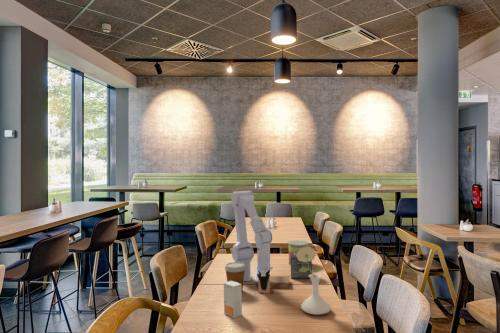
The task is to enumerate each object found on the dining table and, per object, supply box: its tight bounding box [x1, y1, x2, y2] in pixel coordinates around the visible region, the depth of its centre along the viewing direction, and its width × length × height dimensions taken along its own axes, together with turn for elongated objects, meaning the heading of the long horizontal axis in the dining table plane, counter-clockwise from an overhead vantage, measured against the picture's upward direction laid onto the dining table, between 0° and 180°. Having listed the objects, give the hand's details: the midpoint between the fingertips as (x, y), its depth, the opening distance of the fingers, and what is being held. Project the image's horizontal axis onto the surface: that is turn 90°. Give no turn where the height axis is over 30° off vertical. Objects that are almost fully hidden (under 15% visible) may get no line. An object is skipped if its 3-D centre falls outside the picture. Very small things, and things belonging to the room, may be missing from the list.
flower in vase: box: [296, 246, 332, 316], centre depth 139 cm, size 13×11×25 cm
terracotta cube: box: [257, 277, 271, 294], centre depth 163 cm, size 5×5×5 cm
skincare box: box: [223, 281, 243, 319], centre depth 138 cm, size 6×4×12 cm
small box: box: [290, 255, 313, 280], centre depth 181 cm, size 11×6×10 cm, turn 84°
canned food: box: [288, 240, 309, 266], centre depth 205 cm, size 11×11×12 cm
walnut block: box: [269, 275, 291, 289], centre depth 170 cm, size 9×9×3 cm
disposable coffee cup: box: [224, 261, 246, 291], centre depth 163 cm, size 10×10×12 cm
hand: (264, 287), depth 163 cm, fingers closed on terracotta cube, 5 cm apart
